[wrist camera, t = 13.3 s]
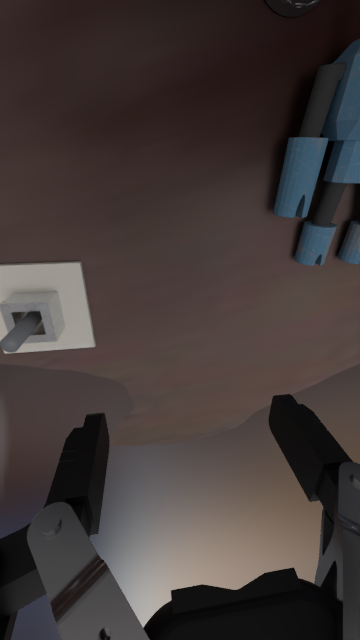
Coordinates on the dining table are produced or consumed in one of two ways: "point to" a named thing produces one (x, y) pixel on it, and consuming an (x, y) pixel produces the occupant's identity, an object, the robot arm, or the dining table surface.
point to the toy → (307, 155)
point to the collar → (35, 301)
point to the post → (34, 279)
